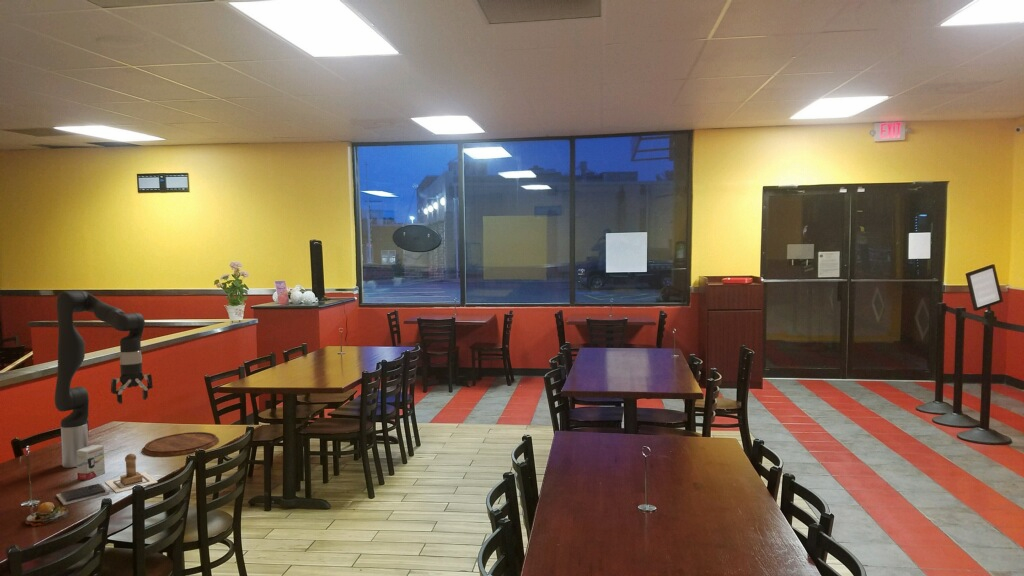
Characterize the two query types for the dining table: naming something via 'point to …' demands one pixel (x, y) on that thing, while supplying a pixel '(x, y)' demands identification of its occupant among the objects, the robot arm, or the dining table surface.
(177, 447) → the cutting board
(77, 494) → the ink pad
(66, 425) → the robot arm
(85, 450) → the ink box
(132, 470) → the stamp
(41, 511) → the burger
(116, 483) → the paper sheet
